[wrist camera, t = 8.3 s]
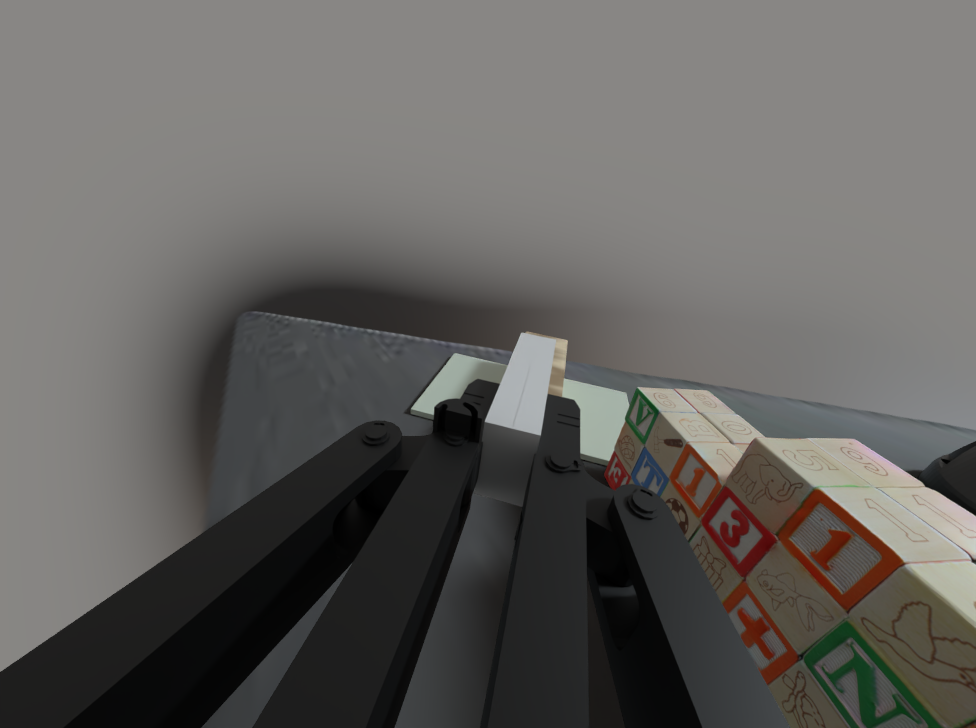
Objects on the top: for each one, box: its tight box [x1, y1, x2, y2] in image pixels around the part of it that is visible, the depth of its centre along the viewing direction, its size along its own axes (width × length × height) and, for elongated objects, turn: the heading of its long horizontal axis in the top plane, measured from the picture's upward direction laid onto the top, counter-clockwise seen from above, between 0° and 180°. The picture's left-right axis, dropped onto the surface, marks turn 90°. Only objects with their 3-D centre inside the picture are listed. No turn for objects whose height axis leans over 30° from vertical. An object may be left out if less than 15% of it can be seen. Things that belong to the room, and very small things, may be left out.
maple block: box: [526, 332, 568, 397], centre depth 36 cm, size 5×5×15 cm
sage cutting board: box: [411, 353, 629, 466], centre depth 38 cm, size 22×14×1 cm, turn 77°
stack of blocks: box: [604, 387, 976, 728], centre depth 18 cm, size 21×6×12 cm, turn 7°
